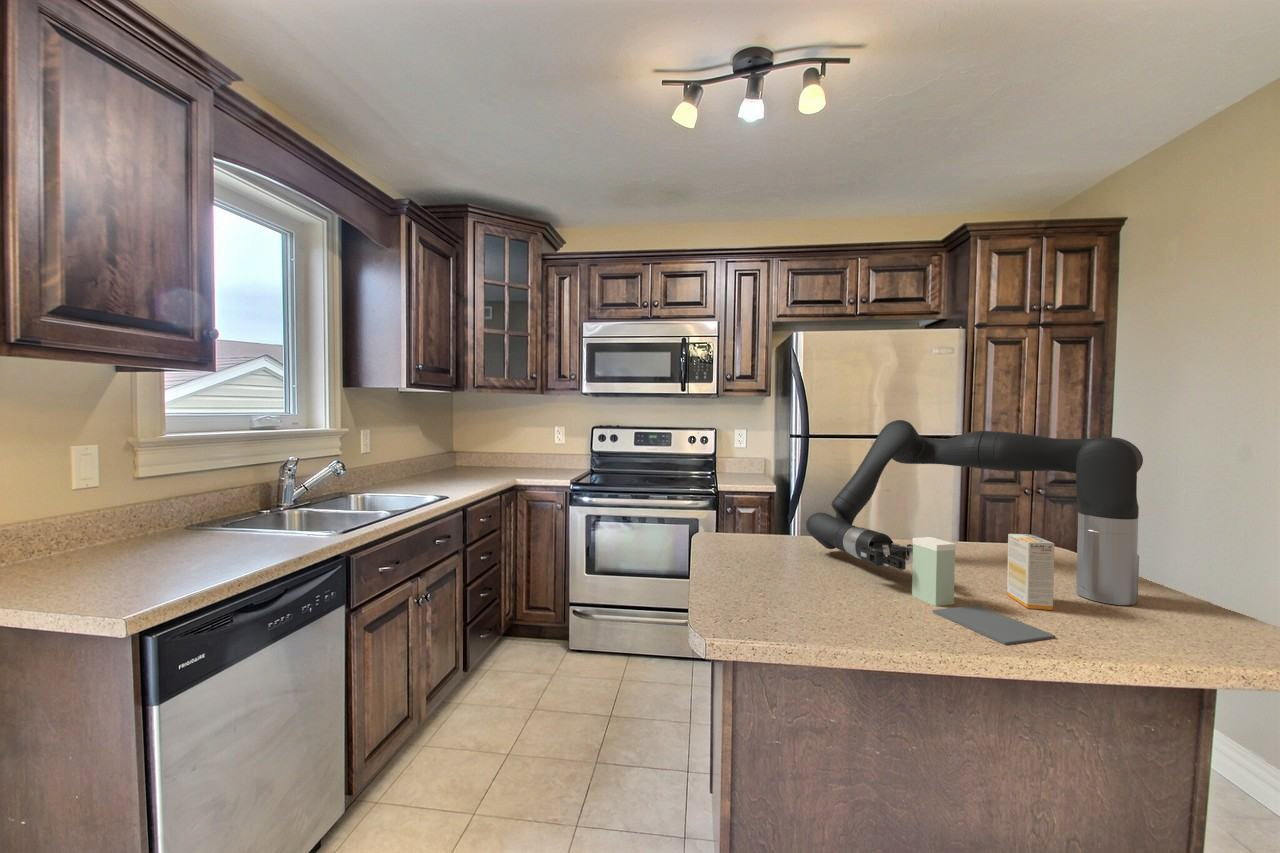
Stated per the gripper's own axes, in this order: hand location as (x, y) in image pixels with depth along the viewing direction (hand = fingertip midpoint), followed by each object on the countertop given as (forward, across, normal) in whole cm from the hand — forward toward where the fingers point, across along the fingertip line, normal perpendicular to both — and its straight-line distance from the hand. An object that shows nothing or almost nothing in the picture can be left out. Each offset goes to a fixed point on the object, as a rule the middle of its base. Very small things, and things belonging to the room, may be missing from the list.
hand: (921, 563), depth 108 cm
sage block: (+3, 0, +6) cm, 7 cm away
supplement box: (+9, +18, +7) cm, 21 cm away
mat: (+16, 0, +6) cm, 17 cm away
